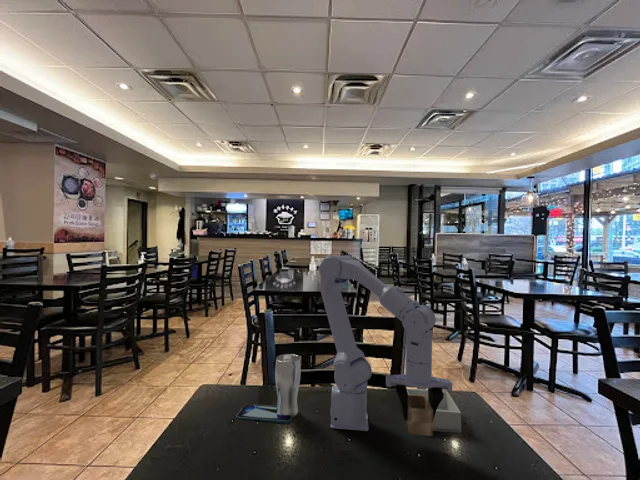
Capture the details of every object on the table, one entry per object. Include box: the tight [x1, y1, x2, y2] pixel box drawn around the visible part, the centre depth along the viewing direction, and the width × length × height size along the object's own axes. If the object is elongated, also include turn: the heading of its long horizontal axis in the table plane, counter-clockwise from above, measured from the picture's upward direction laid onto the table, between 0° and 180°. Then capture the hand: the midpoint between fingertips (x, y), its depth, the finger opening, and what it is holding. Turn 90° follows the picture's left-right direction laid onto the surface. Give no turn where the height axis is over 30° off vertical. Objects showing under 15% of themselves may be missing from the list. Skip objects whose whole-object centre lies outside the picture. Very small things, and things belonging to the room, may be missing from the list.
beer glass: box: [274, 353, 302, 418], centre depth 87 cm, size 7×7×15 cm
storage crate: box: [407, 388, 462, 434], centre depth 85 cm, size 12×12×5 cm
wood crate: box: [405, 394, 434, 437], centre depth 72 cm, size 5×7×6 cm
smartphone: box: [235, 403, 294, 424], centre depth 86 cm, size 7×1×15 cm
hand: (417, 419), depth 72 cm, fingers closed on wood crate, 5 cm apart
